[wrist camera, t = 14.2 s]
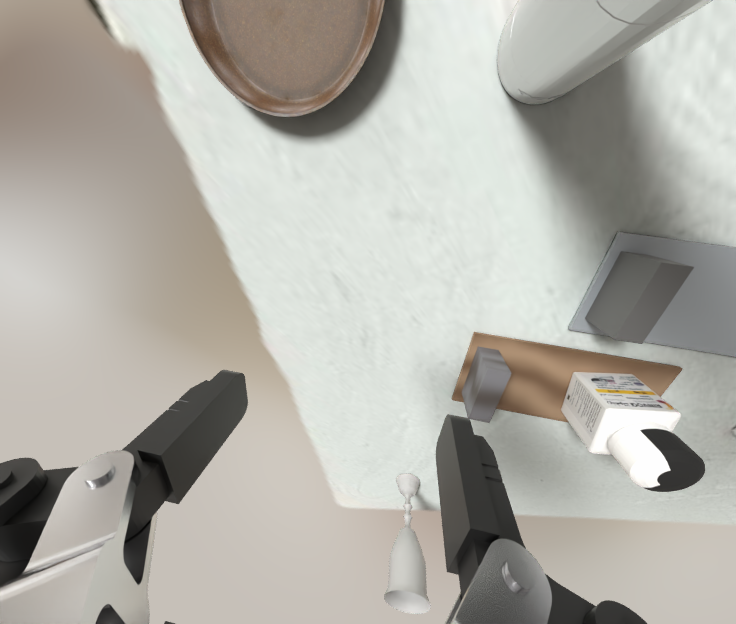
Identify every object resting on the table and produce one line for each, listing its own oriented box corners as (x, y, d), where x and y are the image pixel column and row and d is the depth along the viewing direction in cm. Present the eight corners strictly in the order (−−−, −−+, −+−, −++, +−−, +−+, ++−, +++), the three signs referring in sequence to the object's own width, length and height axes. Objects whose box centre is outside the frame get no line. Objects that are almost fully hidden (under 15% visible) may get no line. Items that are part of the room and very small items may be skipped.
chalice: (386, 473, 55) (376, 590, 39) (416, 467, 53) (418, 589, 36) (400, 494, 57) (396, 613, 41) (429, 489, 55) (438, 613, 39)
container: (632, 372, 37) (736, 457, 25) (614, 413, 40) (699, 505, 28) (572, 370, 38) (644, 450, 26) (559, 410, 41) (618, 496, 29)
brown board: (474, 332, 38) (484, 355, 33) (679, 366, 36) (726, 397, 30) (451, 398, 44) (457, 426, 38) (627, 431, 41) (660, 467, 36)
